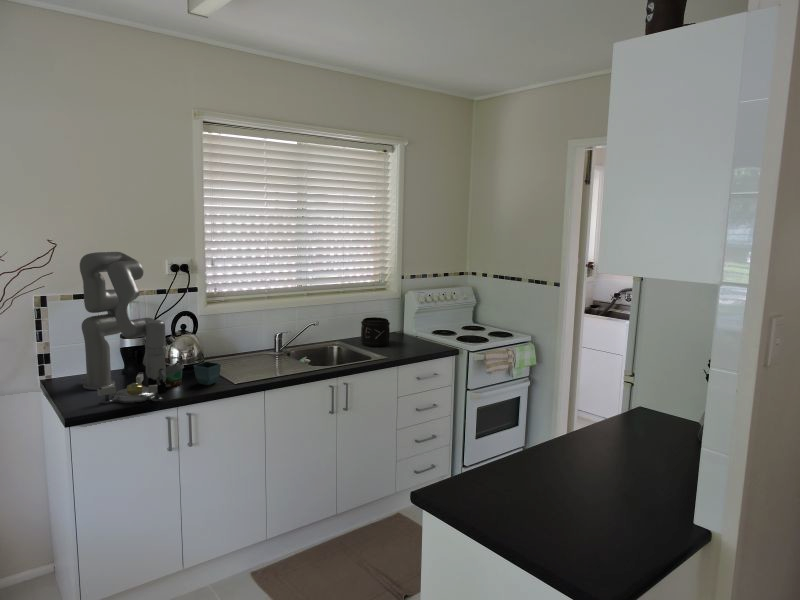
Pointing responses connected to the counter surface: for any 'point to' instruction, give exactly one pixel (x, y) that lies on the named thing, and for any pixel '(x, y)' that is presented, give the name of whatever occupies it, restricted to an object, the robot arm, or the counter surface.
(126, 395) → the levelling plate
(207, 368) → the flower pot
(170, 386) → the food container
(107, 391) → the near knob
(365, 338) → the black canister
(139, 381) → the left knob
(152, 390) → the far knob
